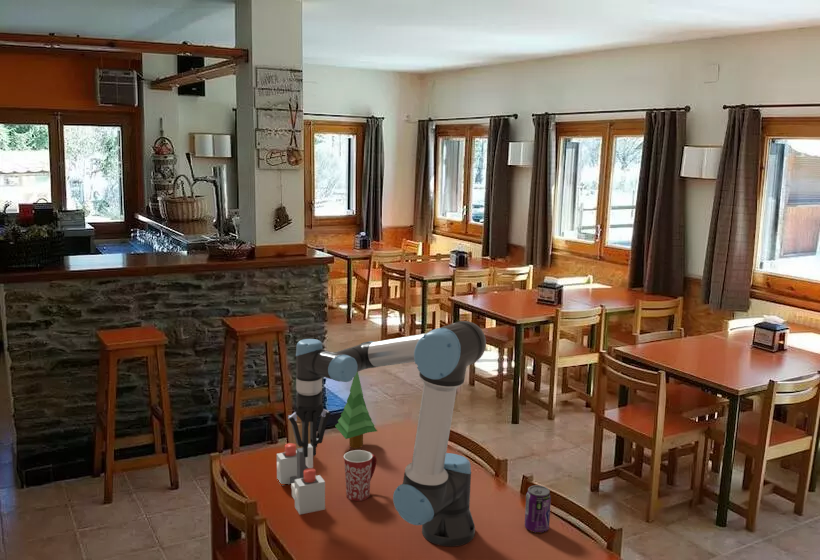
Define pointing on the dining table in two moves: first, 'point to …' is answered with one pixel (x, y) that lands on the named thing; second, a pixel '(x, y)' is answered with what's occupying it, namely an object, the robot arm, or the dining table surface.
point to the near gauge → (309, 475)
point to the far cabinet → (286, 467)
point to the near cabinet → (309, 495)
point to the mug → (359, 474)
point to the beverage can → (537, 508)
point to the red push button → (290, 449)
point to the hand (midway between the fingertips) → (309, 466)
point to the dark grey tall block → (299, 468)
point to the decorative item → (291, 433)
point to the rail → (292, 479)
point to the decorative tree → (355, 416)
